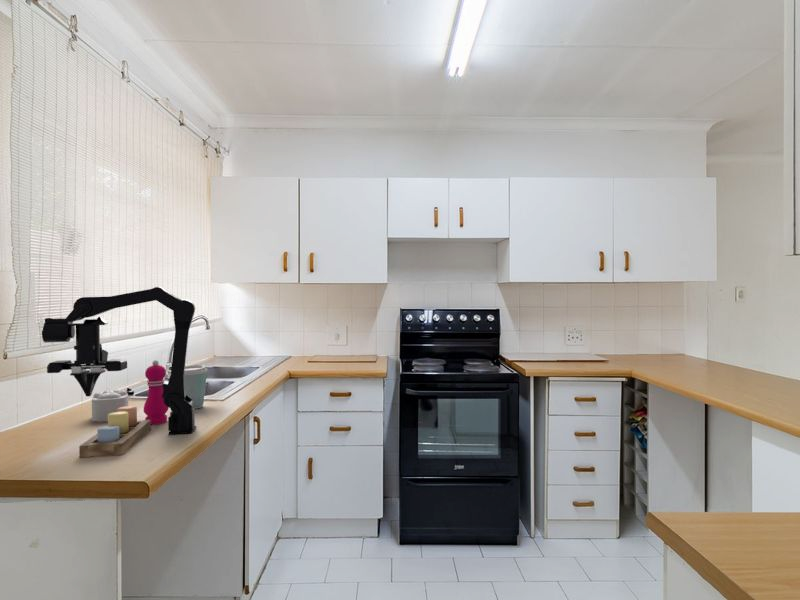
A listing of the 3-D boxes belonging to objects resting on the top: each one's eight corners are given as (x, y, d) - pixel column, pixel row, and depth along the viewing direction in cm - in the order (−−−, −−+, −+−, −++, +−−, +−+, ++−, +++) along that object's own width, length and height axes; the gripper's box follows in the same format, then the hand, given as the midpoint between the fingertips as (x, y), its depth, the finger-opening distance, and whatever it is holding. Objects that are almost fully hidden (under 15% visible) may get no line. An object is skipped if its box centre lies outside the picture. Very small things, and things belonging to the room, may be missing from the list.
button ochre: (131, 428, 141) (131, 411, 140) (124, 433, 136) (124, 415, 136) (112, 429, 140) (111, 412, 140) (105, 434, 135) (104, 416, 135)
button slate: (122, 443, 134) (122, 425, 134) (115, 449, 129) (115, 430, 129) (102, 444, 133) (101, 426, 133) (94, 450, 128) (94, 431, 128)
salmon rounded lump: (139, 422, 147) (139, 405, 147) (133, 426, 143) (133, 409, 142) (121, 423, 147) (120, 406, 146) (114, 427, 142) (114, 410, 142)
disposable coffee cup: (201, 410, 174) (200, 368, 173) (170, 411, 174) (170, 368, 174) (212, 404, 184) (212, 364, 184) (184, 404, 184) (183, 364, 184)
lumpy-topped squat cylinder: (90, 423, 158) (89, 396, 158) (95, 414, 170) (95, 389, 170) (126, 419, 163) (126, 393, 163) (129, 411, 174) (129, 386, 174)
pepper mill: (138, 423, 158) (137, 361, 157) (158, 418, 164) (158, 358, 164) (153, 426, 154) (152, 362, 154) (173, 420, 161) (172, 359, 160)
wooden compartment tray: (151, 429, 150) (150, 419, 150) (122, 454, 127) (122, 443, 127) (115, 431, 149) (115, 421, 148) (79, 457, 125) (79, 445, 125)
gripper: (133, 337, 149) (134, 389, 149) (65, 339, 146) (65, 391, 146) (119, 341, 138) (120, 397, 138) (45, 343, 135) (46, 400, 135)
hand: (88, 396), depth 140 cm, fingers closed
